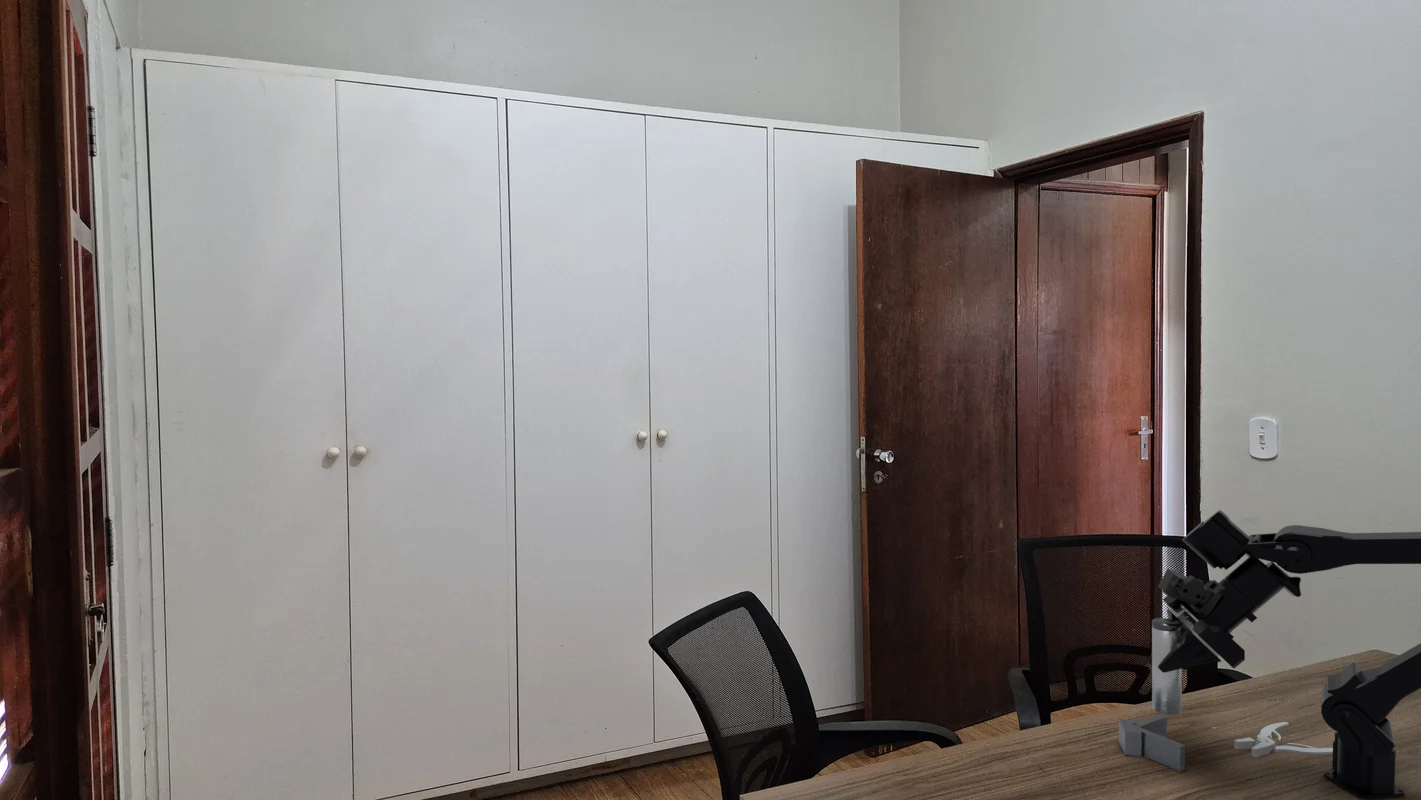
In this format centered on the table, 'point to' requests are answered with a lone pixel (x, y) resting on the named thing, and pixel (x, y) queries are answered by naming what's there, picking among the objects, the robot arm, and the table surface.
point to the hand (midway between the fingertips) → (1156, 664)
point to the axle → (1167, 683)
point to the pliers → (1268, 745)
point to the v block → (1151, 741)
